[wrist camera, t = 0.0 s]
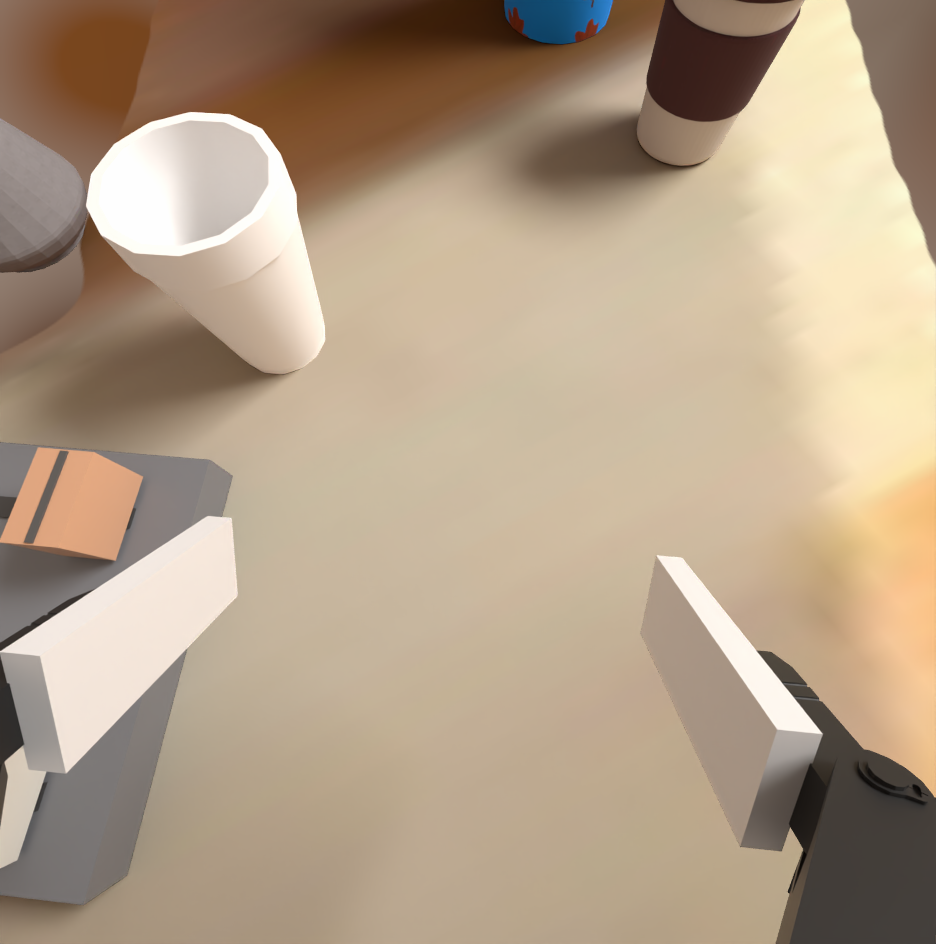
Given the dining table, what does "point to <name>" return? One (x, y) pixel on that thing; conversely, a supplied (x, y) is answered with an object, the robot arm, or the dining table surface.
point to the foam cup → (214, 232)
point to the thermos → (557, 19)
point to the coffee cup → (707, 72)
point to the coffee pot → (37, 203)
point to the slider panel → (143, 725)
